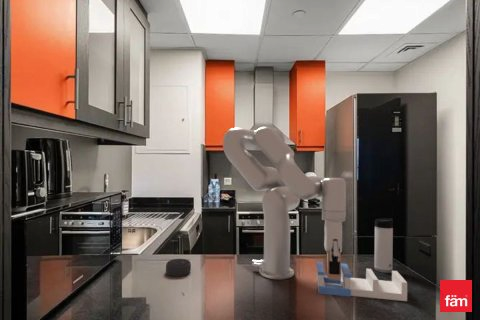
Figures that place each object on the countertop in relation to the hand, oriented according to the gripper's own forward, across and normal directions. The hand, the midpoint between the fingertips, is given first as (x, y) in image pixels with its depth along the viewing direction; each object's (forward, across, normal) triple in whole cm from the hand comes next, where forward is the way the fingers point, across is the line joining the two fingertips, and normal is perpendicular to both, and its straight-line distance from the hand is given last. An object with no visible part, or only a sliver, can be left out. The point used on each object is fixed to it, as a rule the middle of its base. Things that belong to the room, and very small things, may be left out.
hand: (333, 270), depth 98 cm
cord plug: (+2, 0, 0) cm, 2 cm away
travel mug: (+6, -22, +21) cm, 31 cm away
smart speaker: (+5, 0, -54) cm, 55 cm away
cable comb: (+5, 0, +8) cm, 9 cm away
